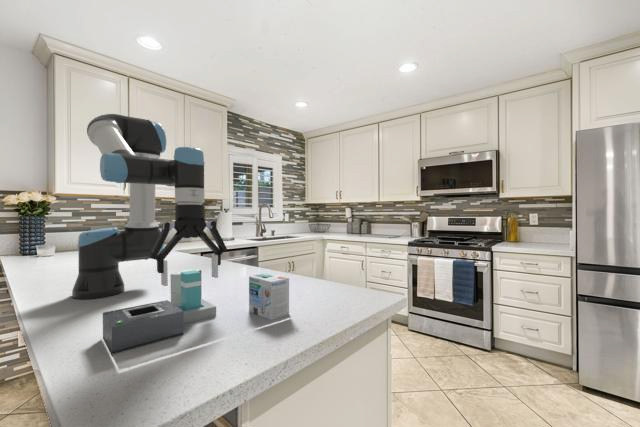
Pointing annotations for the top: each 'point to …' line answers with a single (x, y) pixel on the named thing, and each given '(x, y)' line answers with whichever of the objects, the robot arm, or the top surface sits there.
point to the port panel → (141, 325)
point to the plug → (190, 290)
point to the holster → (199, 312)
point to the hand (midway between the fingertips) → (191, 281)
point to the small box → (177, 287)
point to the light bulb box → (269, 295)
